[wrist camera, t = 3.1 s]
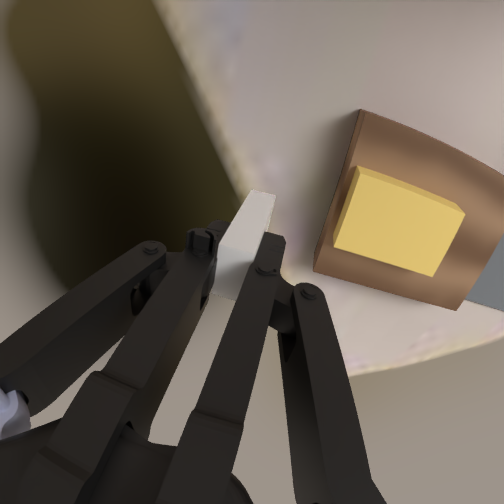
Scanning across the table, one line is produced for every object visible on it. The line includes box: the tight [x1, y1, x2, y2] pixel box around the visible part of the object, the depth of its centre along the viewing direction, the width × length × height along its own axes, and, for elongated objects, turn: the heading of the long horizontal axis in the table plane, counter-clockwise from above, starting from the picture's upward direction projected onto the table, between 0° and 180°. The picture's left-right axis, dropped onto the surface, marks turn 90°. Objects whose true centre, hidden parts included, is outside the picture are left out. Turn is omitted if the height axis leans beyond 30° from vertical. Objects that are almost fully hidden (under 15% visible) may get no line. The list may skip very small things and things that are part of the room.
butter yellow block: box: [333, 165, 465, 277], centre depth 21 cm, size 6×9×2 cm, turn 79°
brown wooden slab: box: [313, 109, 504, 311], centre depth 23 cm, size 14×16×3 cm
